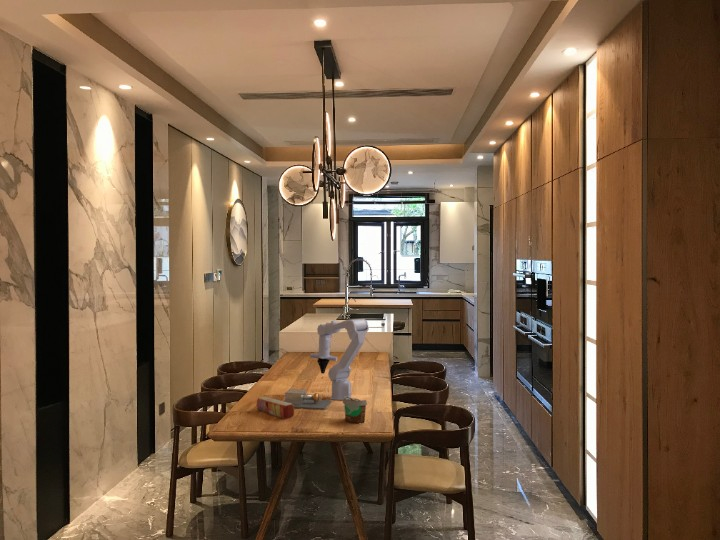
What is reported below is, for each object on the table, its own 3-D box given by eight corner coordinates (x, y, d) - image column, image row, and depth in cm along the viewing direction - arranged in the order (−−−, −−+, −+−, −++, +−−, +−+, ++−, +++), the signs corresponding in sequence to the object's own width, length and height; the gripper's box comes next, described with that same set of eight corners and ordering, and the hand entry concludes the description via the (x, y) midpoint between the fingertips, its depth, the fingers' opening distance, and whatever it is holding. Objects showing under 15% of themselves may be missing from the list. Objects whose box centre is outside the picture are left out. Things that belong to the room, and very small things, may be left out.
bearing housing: (306, 400, 270) (306, 389, 270) (301, 405, 262) (301, 393, 262) (290, 400, 272) (290, 388, 272) (285, 404, 264) (285, 392, 264)
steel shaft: (319, 401, 267) (319, 392, 267) (316, 403, 263) (316, 394, 263) (287, 399, 270) (287, 390, 270) (284, 401, 266) (284, 392, 266)
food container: (336, 420, 241) (336, 397, 241) (347, 417, 245) (347, 394, 245) (356, 426, 232) (356, 402, 232) (366, 423, 237) (367, 400, 236)
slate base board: (331, 402, 271) (331, 400, 271) (324, 409, 257) (324, 408, 257) (288, 399, 275) (288, 398, 275) (279, 407, 261) (278, 405, 261)
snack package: (255, 411, 256) (255, 396, 256) (267, 408, 261) (267, 394, 260) (283, 420, 241) (283, 405, 241) (295, 417, 245) (295, 402, 245)
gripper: (308, 346, 285) (306, 372, 287) (334, 350, 281) (333, 376, 282) (313, 344, 292) (312, 369, 293) (339, 347, 288) (338, 373, 289)
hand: (322, 372), depth 288 cm, fingers closed
